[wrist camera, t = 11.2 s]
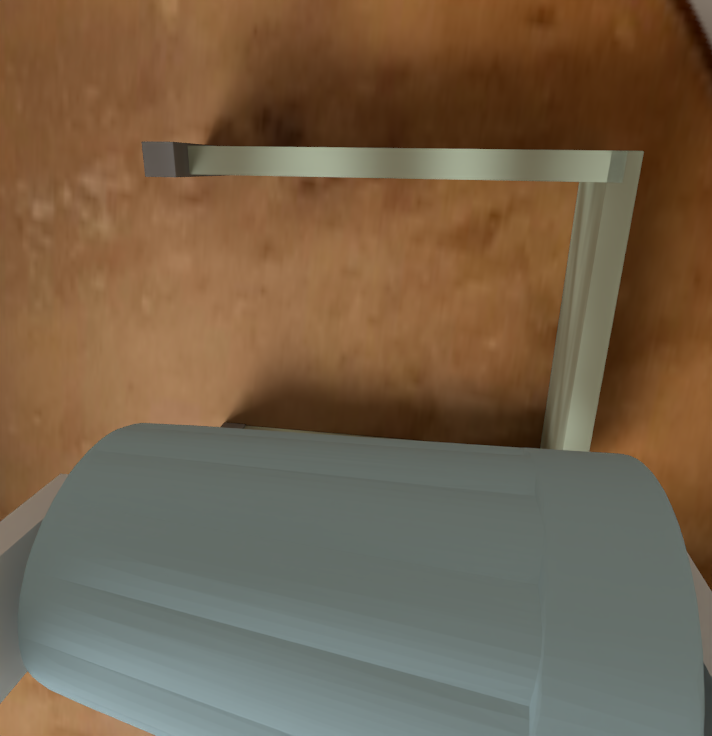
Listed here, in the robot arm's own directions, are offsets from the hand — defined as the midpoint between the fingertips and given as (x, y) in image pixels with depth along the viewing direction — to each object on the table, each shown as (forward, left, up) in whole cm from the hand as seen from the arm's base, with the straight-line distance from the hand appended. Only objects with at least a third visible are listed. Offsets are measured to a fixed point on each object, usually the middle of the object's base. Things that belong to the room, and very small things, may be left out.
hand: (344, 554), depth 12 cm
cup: (-4, 0, -4) cm, 5 cm away
